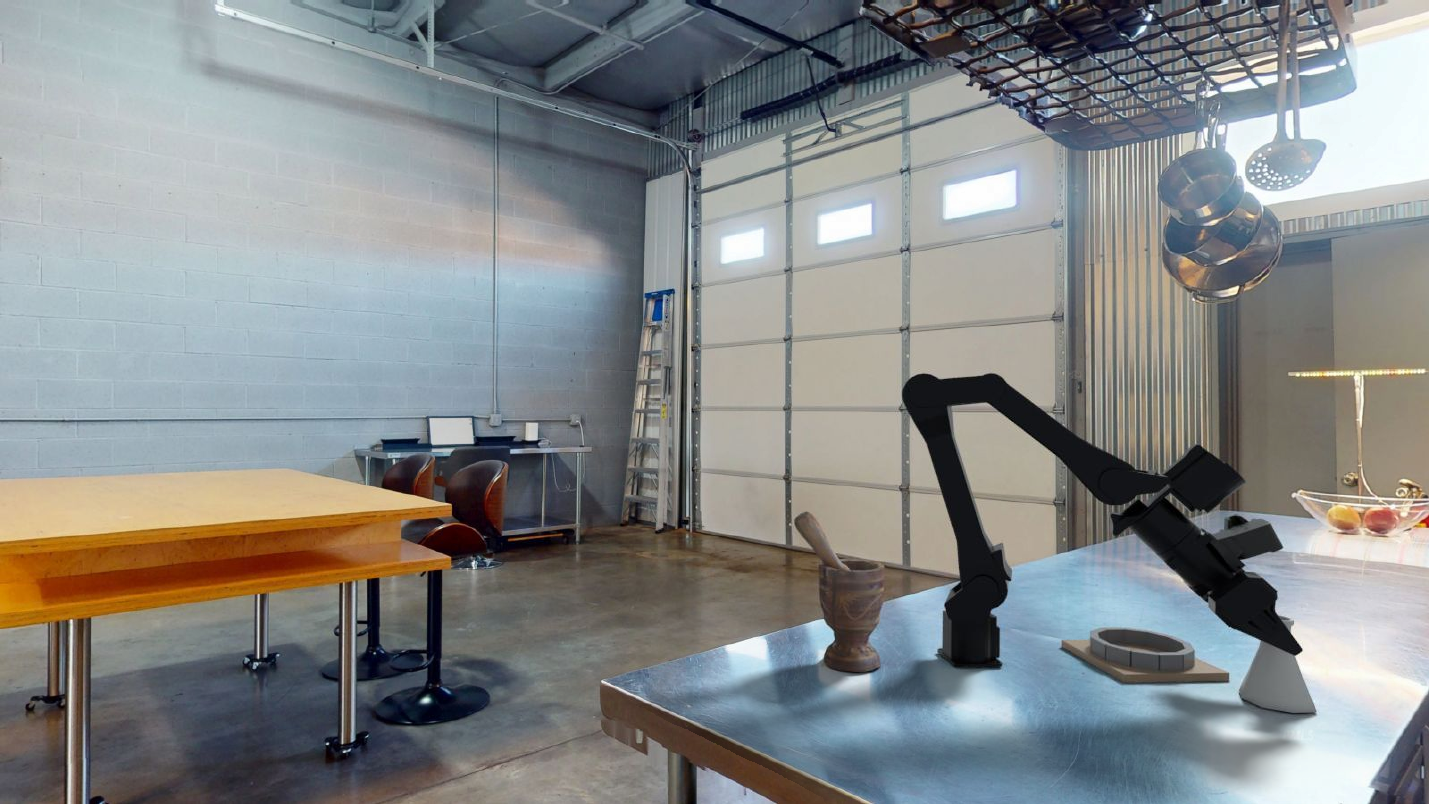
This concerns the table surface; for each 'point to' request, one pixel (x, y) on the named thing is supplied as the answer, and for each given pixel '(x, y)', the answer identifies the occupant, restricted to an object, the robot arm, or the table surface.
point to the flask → (1276, 680)
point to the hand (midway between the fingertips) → (1285, 641)
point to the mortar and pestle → (846, 600)
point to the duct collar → (1143, 656)
